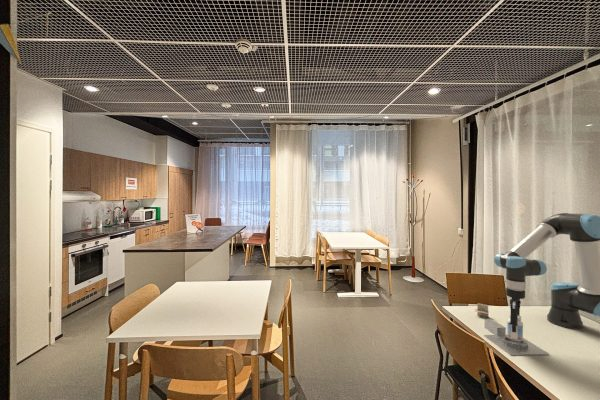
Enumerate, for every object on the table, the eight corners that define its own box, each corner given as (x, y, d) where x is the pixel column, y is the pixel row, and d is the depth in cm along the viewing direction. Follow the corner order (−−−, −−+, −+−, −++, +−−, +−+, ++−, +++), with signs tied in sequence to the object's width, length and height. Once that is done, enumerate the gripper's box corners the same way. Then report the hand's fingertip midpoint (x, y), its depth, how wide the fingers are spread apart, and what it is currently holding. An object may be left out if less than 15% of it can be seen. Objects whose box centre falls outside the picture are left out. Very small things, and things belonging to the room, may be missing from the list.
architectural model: (488, 319, 169) (488, 307, 169) (474, 316, 172) (474, 304, 172) (488, 317, 171) (488, 305, 171) (475, 314, 175) (475, 302, 175)
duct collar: (504, 327, 158) (504, 319, 158) (549, 355, 130) (549, 345, 130) (472, 327, 157) (472, 319, 157) (510, 355, 129) (510, 345, 129)
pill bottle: (506, 339, 138) (507, 316, 138) (507, 334, 143) (507, 312, 143) (522, 343, 134) (522, 319, 134) (522, 338, 139) (523, 315, 139)
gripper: (508, 282, 148) (508, 326, 148) (503, 291, 134) (502, 340, 134) (526, 285, 143) (526, 331, 143) (523, 295, 129) (522, 345, 129)
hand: (514, 335), depth 138 cm, fingers closed on pill bottle, 6 cm apart
